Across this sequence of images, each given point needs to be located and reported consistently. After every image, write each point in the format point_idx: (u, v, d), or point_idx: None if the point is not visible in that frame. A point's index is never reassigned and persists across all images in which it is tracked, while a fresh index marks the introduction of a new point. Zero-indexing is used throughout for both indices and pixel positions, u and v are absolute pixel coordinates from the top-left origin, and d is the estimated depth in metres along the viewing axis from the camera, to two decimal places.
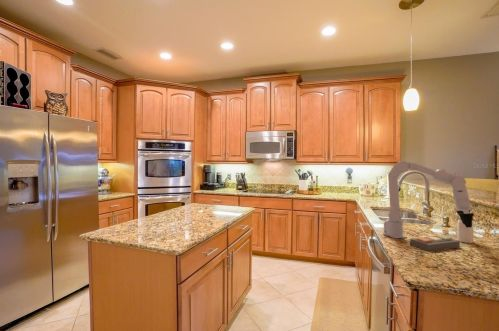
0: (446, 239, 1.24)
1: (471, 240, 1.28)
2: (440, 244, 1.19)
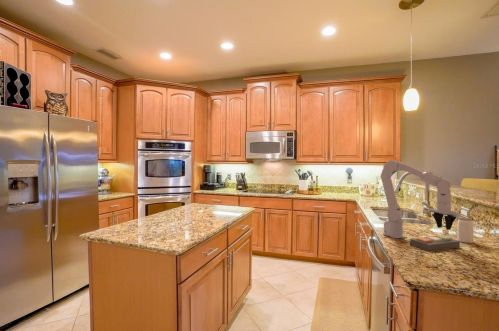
0: (446, 239, 1.24)
1: (471, 240, 1.28)
2: (440, 244, 1.19)
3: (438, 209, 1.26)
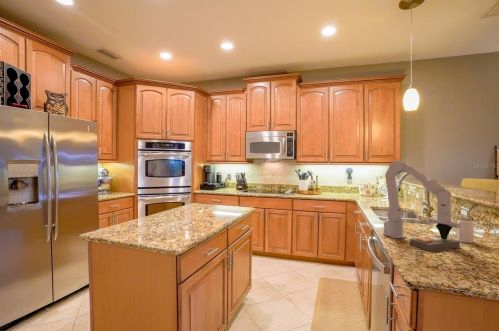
0: None
1: (471, 240, 1.28)
2: (440, 244, 1.19)
3: (438, 219, 1.26)
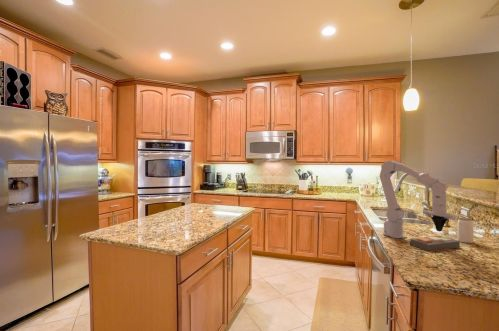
0: None
1: (471, 240, 1.28)
2: (440, 244, 1.19)
3: (433, 211, 1.26)
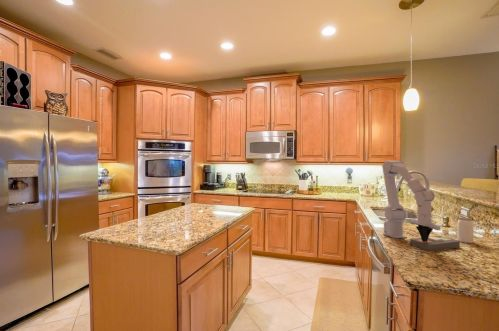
0: None
1: (471, 240, 1.28)
2: (440, 244, 1.19)
3: (418, 221, 1.23)
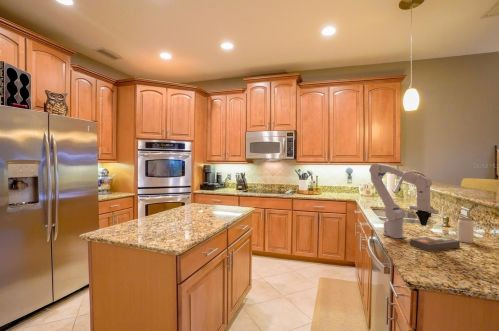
0: None
1: (471, 240, 1.28)
2: (440, 244, 1.19)
3: (418, 206, 1.29)
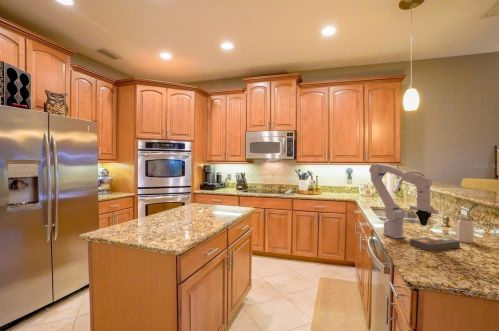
0: None
1: (471, 240, 1.28)
2: (440, 244, 1.19)
3: (418, 206, 1.29)
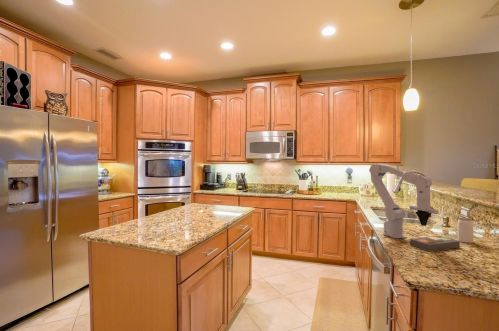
0: None
1: (471, 240, 1.28)
2: (440, 244, 1.19)
3: (418, 206, 1.29)
